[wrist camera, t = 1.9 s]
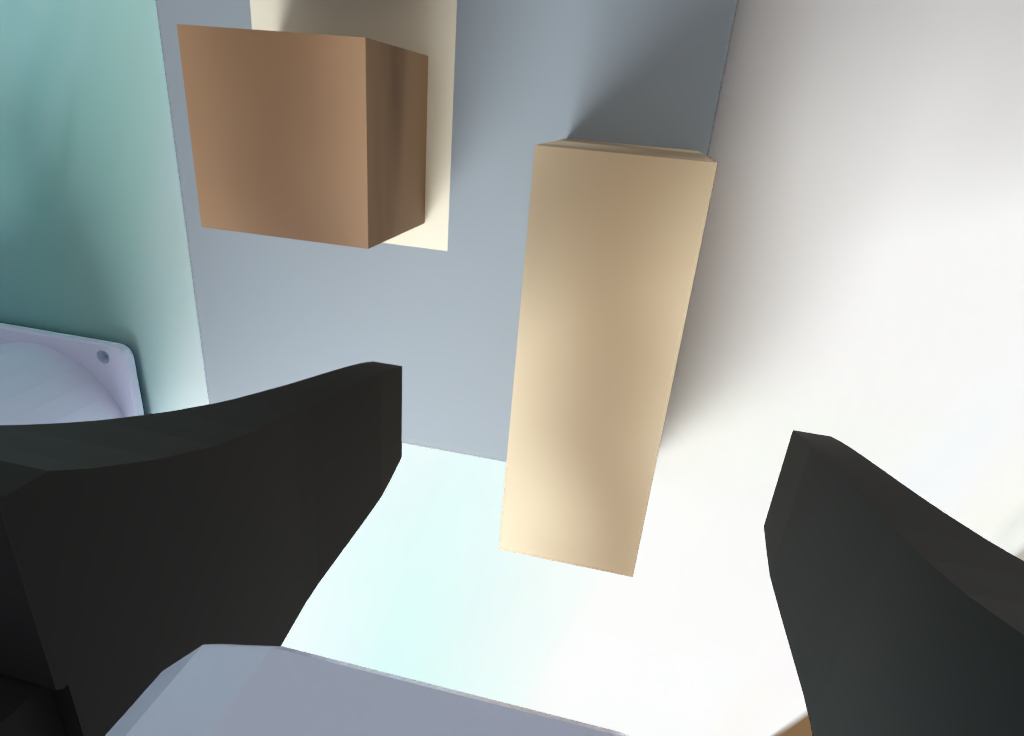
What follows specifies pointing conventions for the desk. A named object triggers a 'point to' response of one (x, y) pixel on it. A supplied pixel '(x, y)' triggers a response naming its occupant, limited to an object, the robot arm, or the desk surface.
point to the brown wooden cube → (306, 134)
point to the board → (442, 192)
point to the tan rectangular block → (598, 344)
